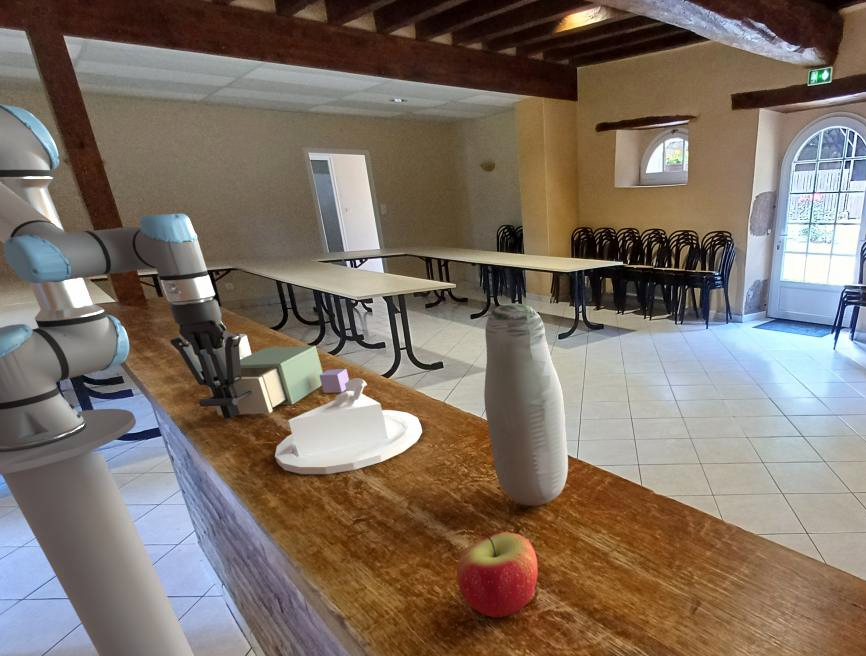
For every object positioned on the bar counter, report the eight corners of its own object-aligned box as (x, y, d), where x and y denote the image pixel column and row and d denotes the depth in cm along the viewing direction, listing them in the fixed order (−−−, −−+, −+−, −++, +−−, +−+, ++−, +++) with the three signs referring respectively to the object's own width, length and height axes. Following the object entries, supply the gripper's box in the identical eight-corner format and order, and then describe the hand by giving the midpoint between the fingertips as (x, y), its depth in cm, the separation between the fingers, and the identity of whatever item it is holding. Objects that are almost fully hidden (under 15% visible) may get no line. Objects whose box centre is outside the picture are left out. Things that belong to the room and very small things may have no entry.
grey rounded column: (584, 495, 80) (569, 301, 69) (528, 526, 73) (501, 317, 62) (541, 474, 86) (521, 294, 75) (486, 501, 80) (456, 308, 69)
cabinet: (292, 404, 123) (280, 363, 119) (238, 406, 124) (225, 365, 120) (325, 383, 137) (315, 345, 133) (277, 384, 137) (265, 347, 134)
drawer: (250, 425, 111) (238, 388, 107) (196, 426, 111) (183, 390, 108) (304, 391, 129) (295, 359, 126) (257, 393, 129) (247, 361, 126)
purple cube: (323, 393, 129) (319, 375, 128) (333, 386, 134) (328, 369, 132) (341, 392, 129) (337, 374, 127) (350, 386, 133) (346, 368, 132)
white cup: (221, 374, 149) (209, 338, 145) (253, 367, 154) (243, 332, 150) (227, 380, 143) (214, 343, 139) (260, 373, 148) (249, 336, 144)
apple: (457, 637, 55) (441, 556, 52) (471, 582, 63) (457, 507, 59) (539, 631, 56) (529, 549, 52) (543, 576, 64) (534, 501, 60)
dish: (386, 407, 118) (375, 356, 114) (445, 437, 101) (435, 379, 97) (260, 446, 103) (241, 389, 98) (305, 490, 86) (285, 423, 82)
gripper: (144, 306, 101) (188, 424, 110) (212, 302, 100) (251, 421, 109) (174, 298, 108) (214, 410, 117) (238, 295, 107) (273, 407, 116)
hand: (232, 415), depth 113 cm, fingers closed
